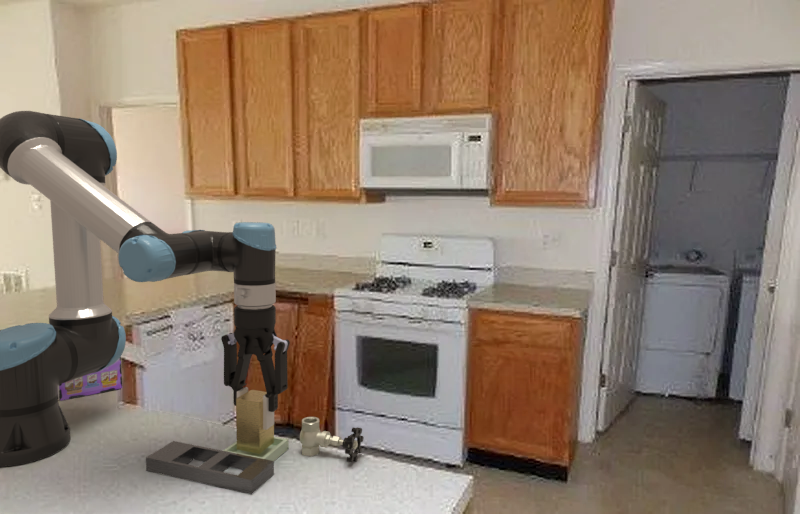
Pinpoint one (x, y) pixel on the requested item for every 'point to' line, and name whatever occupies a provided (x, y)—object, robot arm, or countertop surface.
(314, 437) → the valve
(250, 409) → the wooden block
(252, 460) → the grey slotted holder
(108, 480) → the countertop surface
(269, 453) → the tray
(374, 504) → the countertop surface
